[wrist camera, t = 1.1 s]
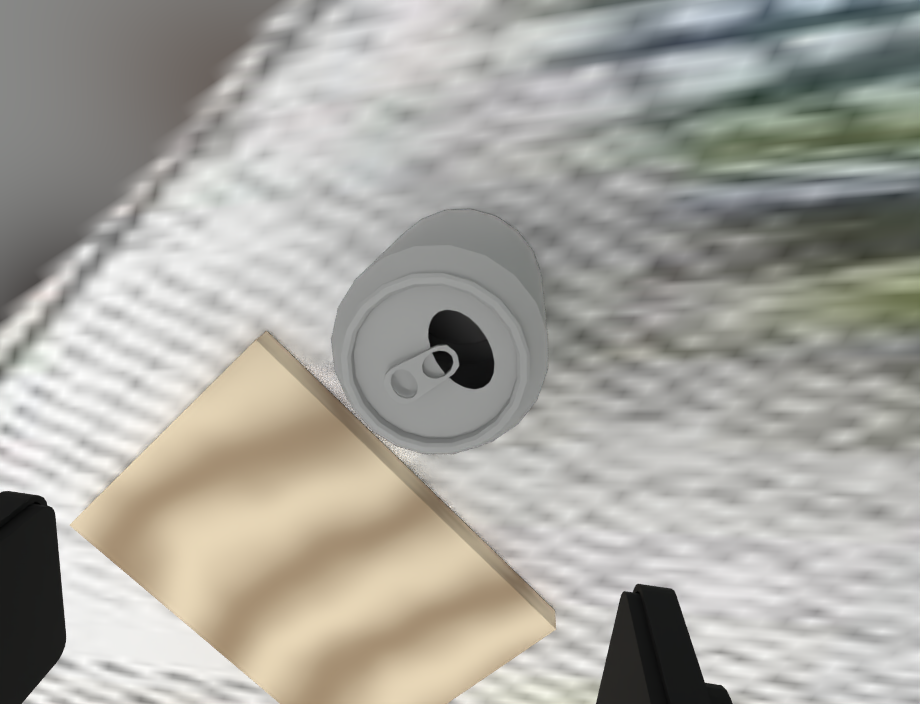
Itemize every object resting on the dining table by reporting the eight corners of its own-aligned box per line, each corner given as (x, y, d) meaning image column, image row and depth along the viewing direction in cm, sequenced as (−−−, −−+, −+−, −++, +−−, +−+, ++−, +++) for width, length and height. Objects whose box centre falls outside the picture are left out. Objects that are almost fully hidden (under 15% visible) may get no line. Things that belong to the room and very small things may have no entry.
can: (569, 315, 33) (592, 417, 22) (436, 383, 35) (394, 509, 24) (494, 176, 32) (477, 208, 20) (357, 254, 33) (272, 324, 22)
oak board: (554, 610, 39) (556, 629, 37) (360, 745, 43) (354, 766, 42) (266, 331, 35) (255, 339, 34) (85, 510, 40) (69, 525, 38)
